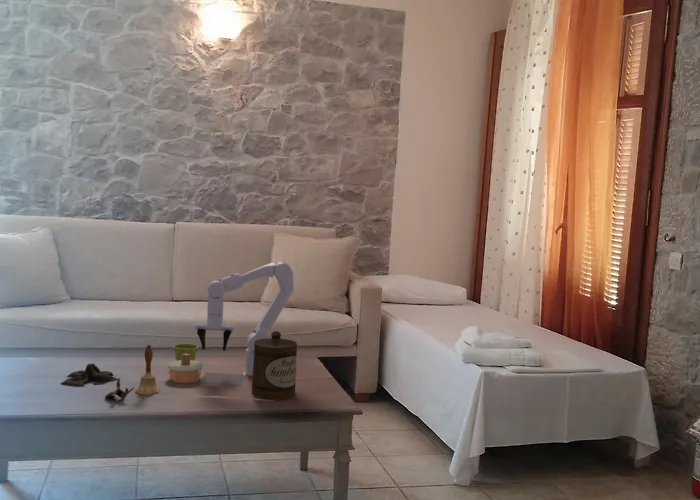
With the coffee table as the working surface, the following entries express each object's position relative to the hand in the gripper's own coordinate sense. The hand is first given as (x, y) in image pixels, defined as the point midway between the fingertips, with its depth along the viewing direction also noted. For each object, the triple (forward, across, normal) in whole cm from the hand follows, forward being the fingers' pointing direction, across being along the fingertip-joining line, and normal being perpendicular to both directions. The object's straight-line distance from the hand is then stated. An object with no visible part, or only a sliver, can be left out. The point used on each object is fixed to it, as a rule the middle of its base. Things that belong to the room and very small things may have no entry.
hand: (214, 349), depth 278 cm
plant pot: (+10, +12, -7) cm, 17 cm away
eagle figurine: (+10, +24, +37) cm, 45 cm away
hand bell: (+10, +17, +26) cm, 33 cm away
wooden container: (+10, -25, +22) cm, 34 cm away
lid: (+4, +8, +11) cm, 14 cm away
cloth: (+10, +39, +15) cm, 43 cm away
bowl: (+9, +8, +10) cm, 16 cm away
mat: (+9, -5, +8) cm, 13 cm away
